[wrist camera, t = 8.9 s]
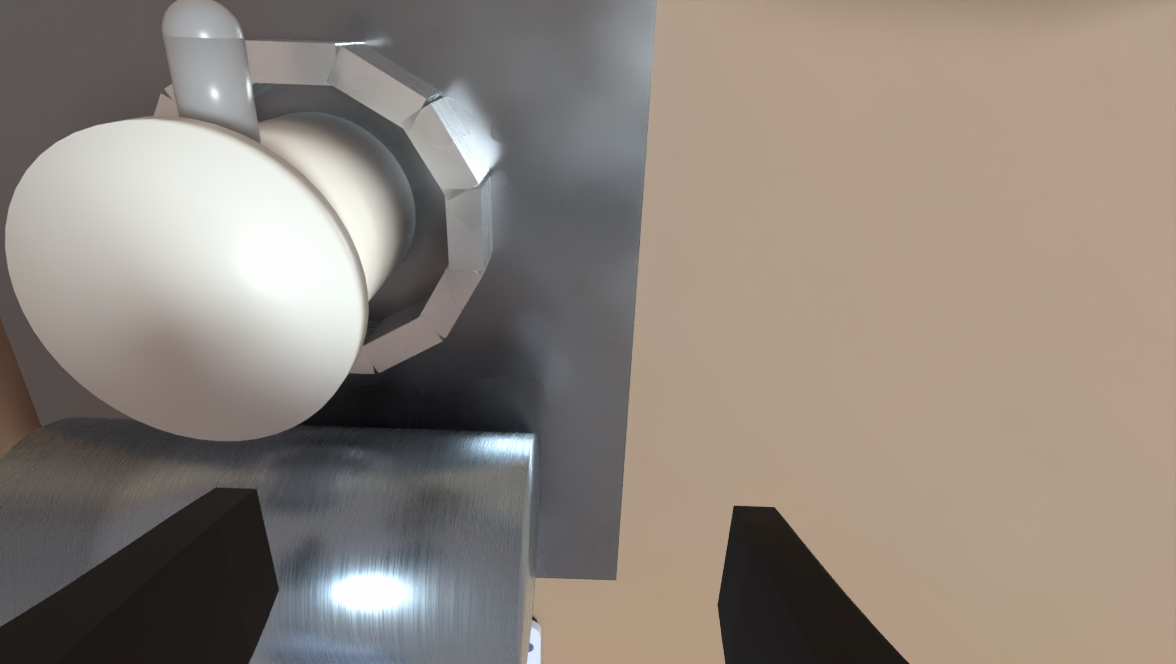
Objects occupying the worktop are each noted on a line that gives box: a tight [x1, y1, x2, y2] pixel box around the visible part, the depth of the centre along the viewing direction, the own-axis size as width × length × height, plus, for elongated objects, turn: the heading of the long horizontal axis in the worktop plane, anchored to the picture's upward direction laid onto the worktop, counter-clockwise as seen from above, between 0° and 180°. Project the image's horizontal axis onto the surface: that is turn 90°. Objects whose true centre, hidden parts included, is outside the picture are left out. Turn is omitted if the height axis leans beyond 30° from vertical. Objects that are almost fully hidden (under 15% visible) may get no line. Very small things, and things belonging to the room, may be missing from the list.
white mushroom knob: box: [5, 0, 415, 441], centre depth 13 cm, size 7×6×6 cm
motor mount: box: [0, 0, 657, 664], centre depth 15 cm, size 18×17×7 cm
